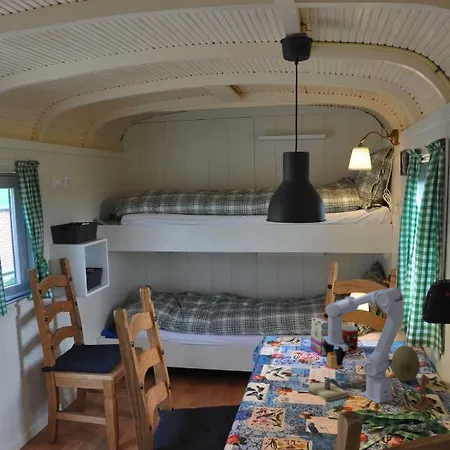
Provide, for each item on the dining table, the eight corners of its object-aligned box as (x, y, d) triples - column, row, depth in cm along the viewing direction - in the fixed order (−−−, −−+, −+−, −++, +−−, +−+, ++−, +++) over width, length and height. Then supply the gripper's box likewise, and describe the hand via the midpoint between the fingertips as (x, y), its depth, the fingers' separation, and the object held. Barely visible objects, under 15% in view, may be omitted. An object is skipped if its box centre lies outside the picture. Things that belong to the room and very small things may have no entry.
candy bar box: (330, 355, 233) (331, 322, 232) (321, 356, 232) (321, 323, 230) (319, 347, 244) (319, 316, 242) (310, 349, 242) (310, 317, 241)
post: (331, 389, 192) (331, 378, 192) (326, 390, 191) (327, 379, 191) (327, 387, 194) (328, 376, 194) (323, 388, 193) (323, 377, 193)
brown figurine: (423, 411, 177) (424, 379, 176) (412, 407, 180) (414, 377, 179) (431, 402, 184) (433, 372, 183) (421, 399, 187) (422, 369, 185)
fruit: (421, 387, 198) (422, 351, 196) (393, 384, 200) (394, 350, 199) (416, 375, 209) (417, 342, 207) (389, 374, 211) (390, 340, 210)
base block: (347, 396, 190) (347, 392, 190) (326, 401, 185) (326, 397, 185) (328, 384, 200) (328, 381, 200) (308, 389, 196) (308, 385, 196)
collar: (344, 366, 201) (344, 355, 201) (333, 369, 199) (333, 357, 198) (335, 362, 206) (335, 350, 206) (324, 364, 204) (324, 352, 203)
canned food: (340, 350, 240) (340, 328, 239) (344, 345, 247) (344, 324, 246) (355, 352, 237) (356, 331, 236) (359, 347, 244) (359, 326, 243)
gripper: (354, 334, 196) (353, 366, 197) (331, 324, 209) (331, 355, 210) (340, 336, 193) (340, 369, 194) (318, 327, 206) (318, 357, 207)
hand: (334, 362), depth 202 cm, fingers closed on collar, 6 cm apart
